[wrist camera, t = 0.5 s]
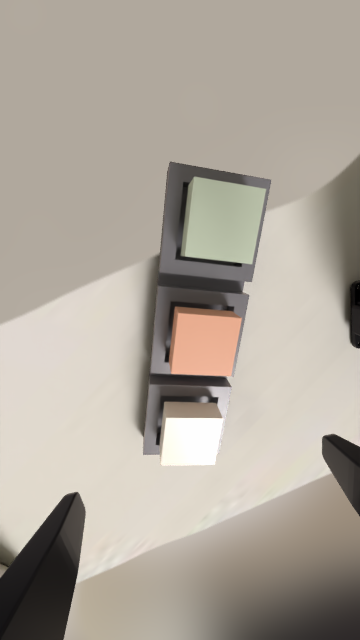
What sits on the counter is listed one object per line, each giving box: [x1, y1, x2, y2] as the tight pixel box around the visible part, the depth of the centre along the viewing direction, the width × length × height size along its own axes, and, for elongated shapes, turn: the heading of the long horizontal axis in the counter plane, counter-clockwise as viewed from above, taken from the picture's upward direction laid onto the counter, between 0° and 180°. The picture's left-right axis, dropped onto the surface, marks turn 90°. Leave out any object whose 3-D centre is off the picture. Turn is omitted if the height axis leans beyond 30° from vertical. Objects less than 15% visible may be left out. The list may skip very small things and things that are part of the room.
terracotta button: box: [169, 306, 242, 376], centre depth 18 cm, size 4×4×2 cm
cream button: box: [159, 402, 223, 466], centre depth 20 cm, size 4×4×2 cm
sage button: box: [181, 177, 266, 264], centre depth 15 cm, size 4×4×2 cm
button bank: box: [143, 162, 271, 455], centre depth 20 cm, size 23×7×2 cm, turn 173°
